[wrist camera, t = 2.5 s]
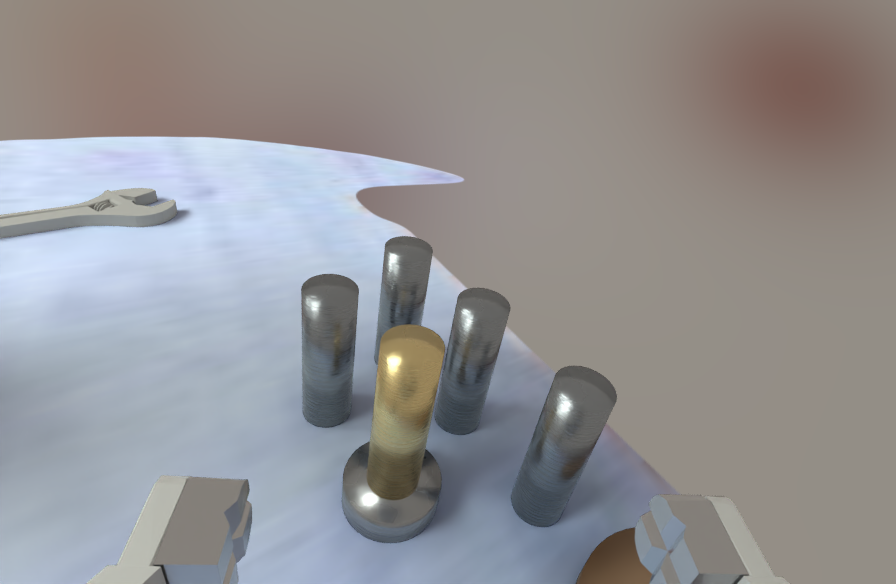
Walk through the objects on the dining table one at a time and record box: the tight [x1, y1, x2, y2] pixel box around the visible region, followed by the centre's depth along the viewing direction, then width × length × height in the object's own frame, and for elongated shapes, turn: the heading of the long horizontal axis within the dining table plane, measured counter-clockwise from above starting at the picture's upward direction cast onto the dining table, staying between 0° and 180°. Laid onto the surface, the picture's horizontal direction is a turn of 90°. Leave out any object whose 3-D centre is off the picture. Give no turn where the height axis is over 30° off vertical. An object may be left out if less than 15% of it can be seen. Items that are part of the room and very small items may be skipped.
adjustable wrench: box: [0, 188, 177, 239], centre depth 47 cm, size 25×6×2 cm, turn 122°
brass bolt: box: [342, 324, 445, 543], centre depth 28 cm, size 6×6×12 cm
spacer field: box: [301, 236, 617, 527], centre depth 33 cm, size 15×17×10 cm
